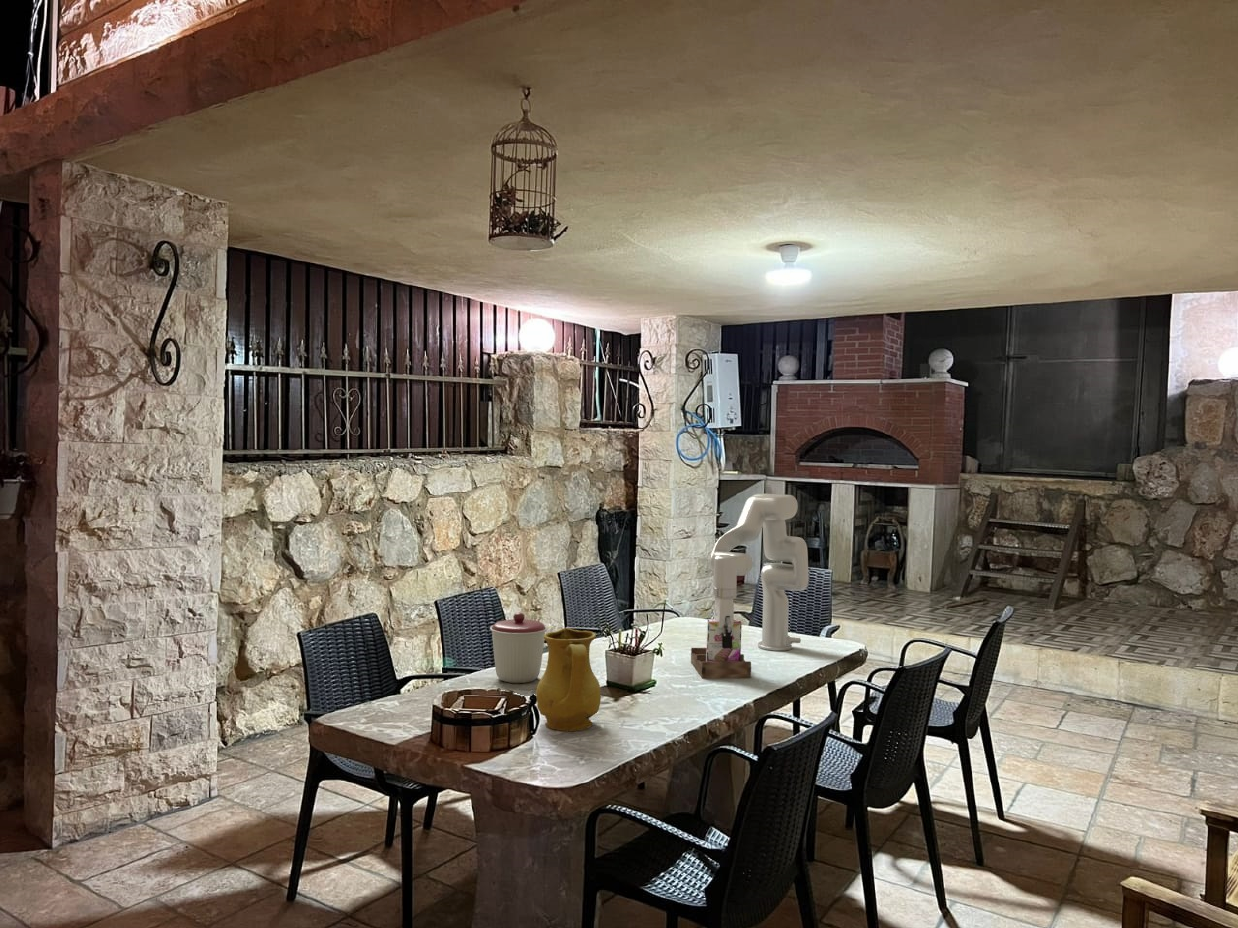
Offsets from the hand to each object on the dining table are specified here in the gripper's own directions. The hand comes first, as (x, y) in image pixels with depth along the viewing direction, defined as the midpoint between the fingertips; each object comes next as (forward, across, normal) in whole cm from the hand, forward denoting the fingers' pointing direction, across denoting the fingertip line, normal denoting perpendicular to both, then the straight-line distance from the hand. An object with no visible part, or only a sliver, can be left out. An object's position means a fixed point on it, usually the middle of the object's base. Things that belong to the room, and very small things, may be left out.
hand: (723, 644), depth 291 cm
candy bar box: (+9, 0, 0) cm, 9 cm away
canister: (+9, +6, -67) cm, 68 cm away
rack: (+10, -5, 0) cm, 11 cm away
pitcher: (+9, +53, -53) cm, 76 cm away
